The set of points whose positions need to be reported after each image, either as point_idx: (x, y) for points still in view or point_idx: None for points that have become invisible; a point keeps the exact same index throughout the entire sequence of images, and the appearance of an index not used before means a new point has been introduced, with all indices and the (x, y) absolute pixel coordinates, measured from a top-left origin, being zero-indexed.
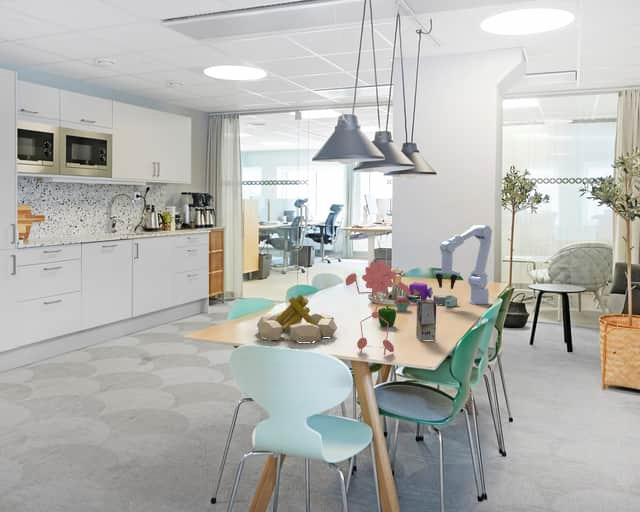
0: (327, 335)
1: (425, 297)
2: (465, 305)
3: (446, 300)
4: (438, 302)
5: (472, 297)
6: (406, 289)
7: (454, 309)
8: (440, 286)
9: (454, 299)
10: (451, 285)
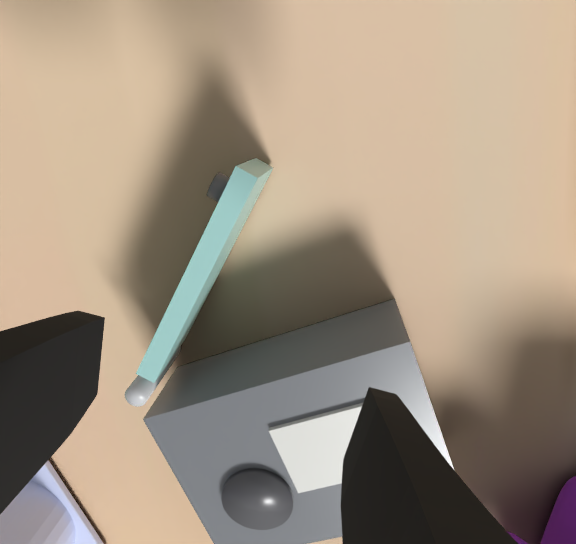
0: None
1: (558, 540)
2: None
3: (239, 166)
4: (377, 318)
5: (9, 536)
6: None
7: (135, 53)
8: (374, 408)
9: (155, 335)
10: (15, 335)
